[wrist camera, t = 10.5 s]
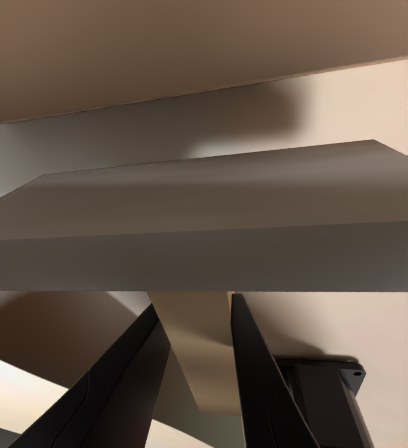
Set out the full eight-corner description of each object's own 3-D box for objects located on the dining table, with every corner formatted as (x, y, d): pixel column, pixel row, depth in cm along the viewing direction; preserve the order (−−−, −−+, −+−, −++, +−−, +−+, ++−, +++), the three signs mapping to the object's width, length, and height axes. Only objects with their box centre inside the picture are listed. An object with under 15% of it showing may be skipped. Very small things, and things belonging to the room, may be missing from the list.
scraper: (310, 362, 14) (334, 452, 10) (147, 352, 16) (124, 426, 12) (373, 139, 6) (528, 215, 3) (43, 174, 8) (-86, 244, 5)
